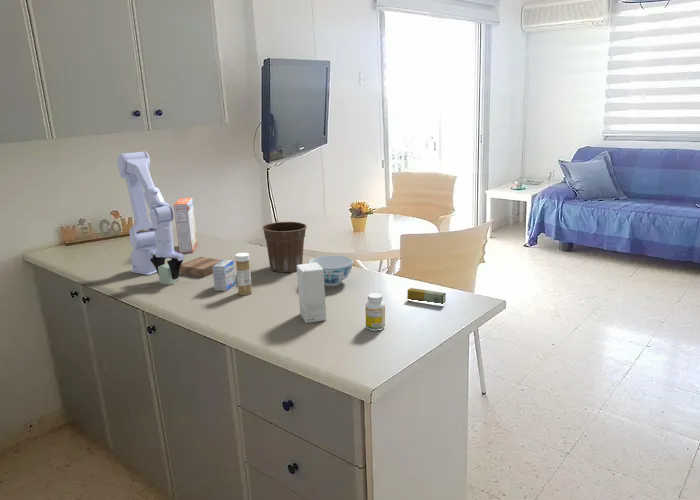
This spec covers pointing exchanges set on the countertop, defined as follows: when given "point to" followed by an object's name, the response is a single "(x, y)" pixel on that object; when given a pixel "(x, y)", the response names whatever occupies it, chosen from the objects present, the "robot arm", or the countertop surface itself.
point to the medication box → (426, 295)
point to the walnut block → (199, 267)
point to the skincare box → (311, 292)
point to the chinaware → (334, 268)
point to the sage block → (165, 274)
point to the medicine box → (224, 275)
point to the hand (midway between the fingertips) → (168, 277)
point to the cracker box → (185, 225)
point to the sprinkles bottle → (243, 273)
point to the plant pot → (285, 245)
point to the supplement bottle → (375, 312)
